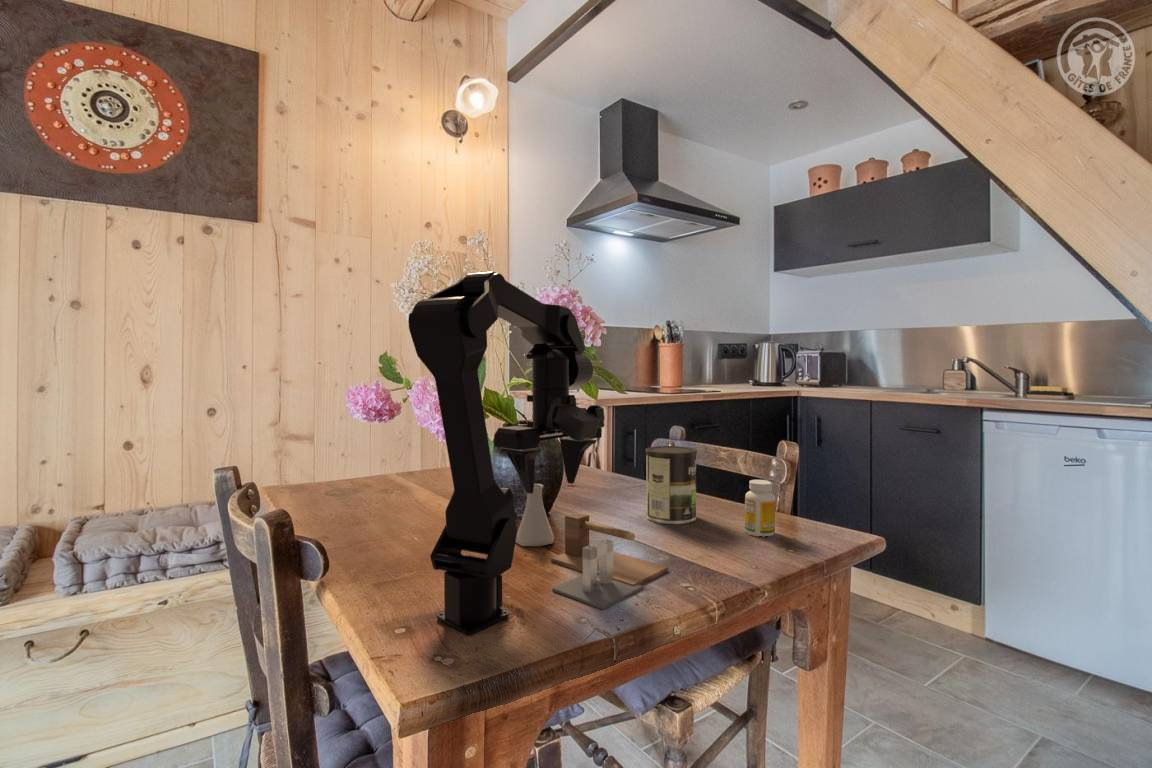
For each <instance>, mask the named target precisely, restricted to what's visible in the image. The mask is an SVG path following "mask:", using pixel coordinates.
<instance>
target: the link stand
mask: <svg viewBox="0 0 1152 768" xmlns="http://www.w3.org/2000/svg"><path fill="white" fill-rule="evenodd" d="M590 531H592V532H597V533H601V534H605V535H608V536H612V537H616V538H619V539H624V540H627V541H633V540H635V538H636V535H635V533H634V532H632V531H628V530H624V529H621V528H616V527H612V526H608V525H603V524H600V523H596V522H592V521H590V515H589V514H587V513H582V512H578V511H577V512H573V513H569V514H566V515H564V553H561V554H558V555H556V556H553V557H551V558H550V559H551V561H550V562H551V563H554V564H557V565H560V566H561V567H562V566H563V567H567V568H569V569H572V570H576V571H577V572H578V571H579V572H581V573H583V547H586V546H588V545H590ZM668 571H669V566H666V565H662V564H659V563H656V562H653V561H652V562H651V561H648V560H645V559H641V558H638V557H634V556H631V555H628V554H627V555H626V554H624V553H621V552H620V553H619V552H616V551H613V580H616V581H619V582H623V583H626V584H629V585H632V586H634V585H636V584H639V585H643V584H645V583H647V582H650V581H651V580H653V579H656V578H657V577H659V576H661V575H663V574H665V573H666V572H668ZM597 574H598V575H599V557H597Z"/></svg>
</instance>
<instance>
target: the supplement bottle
mask: <svg viewBox="0 0 1152 768" xmlns="http://www.w3.org/2000/svg"><path fill="white" fill-rule="evenodd" d="M748 485H749V486H748V487H749V491H747V492H746V493H745V496H744V531H745V533H746V534H747V535H749V536H754V537H759V536H762V538H763V537H764V538H765V536H768V537H772V536H773V535H775V533H776V499H777V498H776V495H775V494H774V493H772V492H771V491H772V489H773V482H772V481H770V480H767V479H751V480H749V483H748Z"/></svg>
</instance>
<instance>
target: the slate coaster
mask: <svg viewBox="0 0 1152 768" xmlns="http://www.w3.org/2000/svg"><path fill="white" fill-rule="evenodd" d="M597 578H598V579H599V575H598V574H597ZM551 588H552V589H551V590H552V592H554V593H558V594H560V595H562V596H565V597H568V598H569V599H570V598H571V599H572V600H576V601H578V602H581V603H583V604H586V605H589V606H592V607H593V608H597V609H600V610H603V611H604V610H606V609H608V608H609V607H612V606H613V605H615V604H617V603H618V602H621V601H623V600H625V599H626V598H628V597H630V596H632V595H634V594H635V593H638V592H639V591H641V590H643V589H644V585H643V584H642V585H639V584H636V585H634V586H632V585H629V584H626V583H623V582H619V581H616V580H613V583H612V584H610V585H608V586H606V585H603V584H600V590H597V591H595V592H593V593H591V594H589V593H587V592H584V591H583V574H581V575H579V576H577V577H574V578H572V579H570V580H568V581H566V582H563V583H561V584H559V585H555V586H553V587H551Z"/></svg>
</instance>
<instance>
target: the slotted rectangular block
mask: <svg viewBox="0 0 1152 768" xmlns="http://www.w3.org/2000/svg"><path fill="white" fill-rule="evenodd" d="M613 552H614V541H613V540H611V539H607V538H604V539H602V540H600V541H596V542H594V543H591V544H589V545H588V546H586V547H583V572H582V575H583V591H584V592H587V593H589V594H591V593H593V592H595V591H597V590H600V584H603V585H606V586H608V585H610V584H612V583H613ZM597 557H599V579H598V578H597Z"/></svg>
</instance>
